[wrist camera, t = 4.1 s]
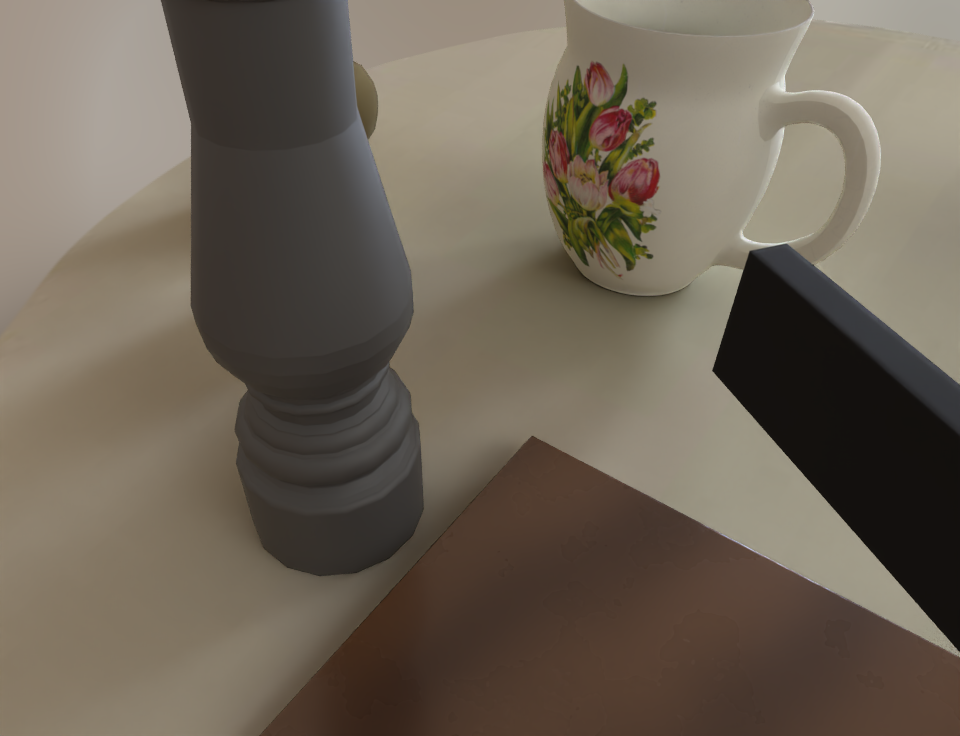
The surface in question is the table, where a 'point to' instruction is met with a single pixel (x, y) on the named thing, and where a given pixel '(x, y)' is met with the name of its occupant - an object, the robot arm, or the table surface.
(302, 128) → the candle holder
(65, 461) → the table surface
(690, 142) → the pitcher
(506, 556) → the walnut board
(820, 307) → the robot arm
